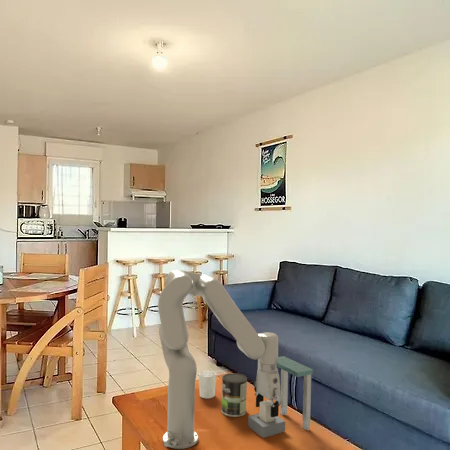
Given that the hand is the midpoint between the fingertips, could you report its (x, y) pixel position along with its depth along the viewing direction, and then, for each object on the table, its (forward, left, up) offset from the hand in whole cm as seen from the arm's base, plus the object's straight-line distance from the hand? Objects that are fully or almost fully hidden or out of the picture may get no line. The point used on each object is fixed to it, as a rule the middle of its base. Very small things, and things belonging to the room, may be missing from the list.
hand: (266, 411), depth 163 cm
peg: (0, 0, -7) cm, 7 cm away
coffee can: (+10, +16, -7) cm, 20 cm away
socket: (0, 0, -7) cm, 7 cm away
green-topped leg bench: (+8, -7, -7) cm, 13 cm away
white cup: (+21, +32, -7) cm, 39 cm away
